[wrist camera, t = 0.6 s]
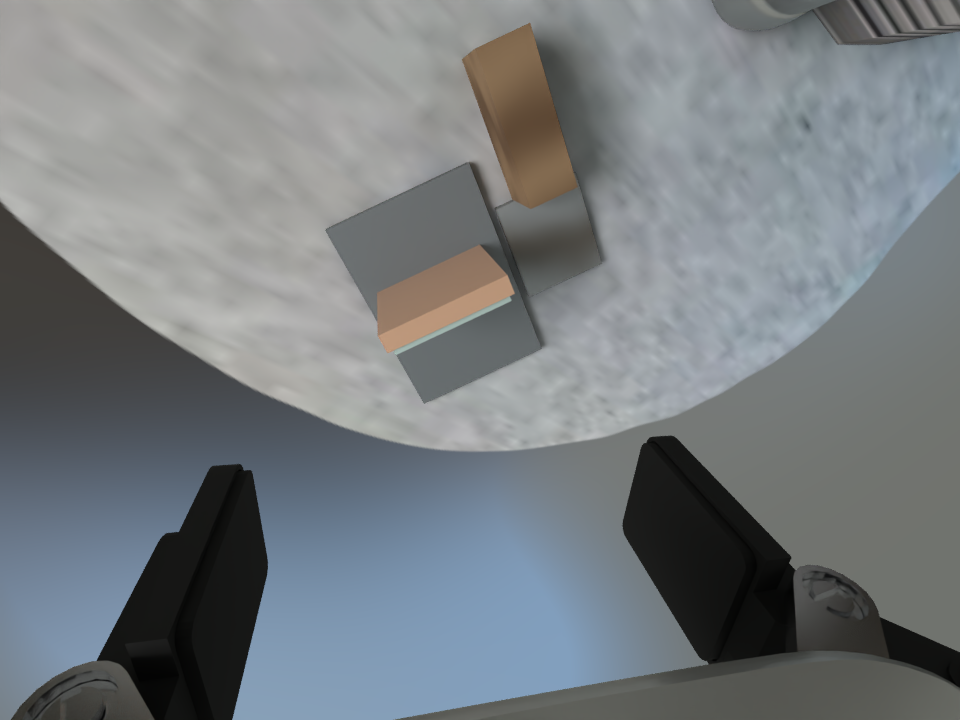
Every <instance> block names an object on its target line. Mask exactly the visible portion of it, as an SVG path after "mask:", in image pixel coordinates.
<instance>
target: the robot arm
mask: <svg viewBox="0 0 960 720" xmlns="http://www.w3.org/2000/svg"><path fill="white" fill-rule="evenodd" d="M623 531H624V535H625V536H626V538H627V540H628V542H629V543H630V545H631V546H632V548H633V550H634V551H635V553H636V555H637V556H638V558H639V560H640V561H641V563H642V564H643V566H644V568H645V570H646V571H647V573H648V574H649V576H650V578H651V579H652V581H653V583H654V584H655V586H656V587H657V589H658V591H659V592H660V594H661V596H662V597H663V599H664V601H665V602H666V604H667V606H668V607H669V609H670V610H671V612H672V614H673V615H674V617H675V619H676V620H677V622H678V623H679V625H680V627H681V628H682V630H683V632H684V633H685V635H686V637H687V638H688V640H689V641H690V643H691V645H692V646H693V648H694V650H695V651H696V653H697V654H698V656H699V657H700V658H701V659H702V660H704V661H707V662H708V663H709V665H703V666H698V667H691V668H686V669H680V670H673V671H668V672H662V673H656V674H650V675H644V676H638V677H632V678H626V679H620V680H615V681H609V682H603V683H598V684H592V685H586V686H581V687H574V688H569V689H563V690H557V691H552V692H546V693H540V694H535V695H529V696H523V697H518V698H512V699H506V700H501V701H495V702H489V703H484V704H478V705H473V706H467V707H462V708H456V709H451V710H445V711H440V712H434V713H428V714H423V715H417V716H412V717H407V718H401V719H396V720H960V652H958V651H955V650H953V649H951V648H949V647H946V646H944V645H942V644H940V643H937V642H935V641H933V640H930V639H928V638H926V637H924V636H921V635H919V634H917V633H915V632H912V631H910V630H908V629H905V628H903V627H901V626H899V625H896V624H894V623H892V622H889V621H887V620H885V619H883V618H881V617H880V616H879V613H878V609H877V607H876V605H875V603H874V601H873V600H872V598H871V597H870V596H869V595H868V593H867V592H866V591H865V590H864V589H862V588H861V587H860V586H859V585H858V584H857V583H855V582H854V581H852V580H851V579H849V578H848V577H846V576H844V575H843V574H841V573H838V572H836V571H834V570H832V569H829V568H825V567H822V566H818V565H805V566H801V567H799V568H798V569H797V570H795V569H794V568H793V567H792V566H791V565H790V564H789V562H790V559H791V556H790V555H789V554H788V553H787V552H786V551H785V550H784V549H783V548H782V547H781V546H780V545H779V544H778V543H777V542H776V541H775V540H774V539H773V537H772V536H770V534H769V533H768V532H767V531H766V530H765V529H764V528H763V527H762V526H761V525H760V524H759V523H758V522H757V521H756V520H755V519H754V518H753V517H752V516H751V515H750V514H749V513H748V512H747V511H746V510H745V509H744V508H743V506H742V505H741V504H740V503H739V502H738V501H737V500H735V498H734V497H733V496H732V495H731V494H730V493H729V492H728V491H727V490H726V489H725V488H724V487H723V486H722V485H721V484H720V483H719V482H718V481H717V480H716V479H715V478H714V477H713V476H712V475H711V473H710V472H709V471H708V470H707V469H706V468H705V467H704V466H703V465H702V464H701V463H700V462H699V461H698V460H697V459H696V458H695V457H694V456H693V455H692V454H691V453H690V452H689V451H688V450H687V449H686V448H685V447H684V446H683V444H681V442H680V441H679V440H678V439H677V438H675V437H674V436H659V437H651V438H649V439H648V440H647V443H644V444H643V445H642V447H641V450H640V455H639V458H638V463H637V467H636V471H635V475H634V479H633V483H632V487H631V491H630V495H629V499H628V503H627V507H626V511H625V515H624V519H623ZM267 570H268V560H267V553H266V548H265V542H264V537H263V530H262V525H261V519H260V513H259V507H258V502H257V496H256V490H255V485H254V479H253V474H252V471H251V470H246V471H244V470H243V467H242V465H240V464H237V465H236V464H235V465H220V466H212V467H211V468H210V469H209V471H208V473H207V475H206V477H205V479H204V481H203V483H202V486H201V487H200V489H199V492H198V493H197V496H196V498H195V500H194V502H193V504H192V506H191V508H190V510H189V512H188V514H187V516H186V519H185V520H184V523H183V525H182V527H181V529H180V531H179V532H174V533H166V534H165V535H164V536H162V538H161V539H160V541H159V542H158V544H157V546H156V548H155V550H154V552H153V553H152V556H151V557H150V559H149V561H148V563H147V565H146V567H145V569H144V571H143V573H142V575H141V577H140V578H139V580H138V582H137V584H136V586H135V588H134V590H133V592H132V594H131V596H130V598H129V600H128V601H127V603H126V605H125V607H124V609H123V611H122V613H121V615H120V617H119V619H118V621H117V623H116V624H115V627H114V628H113V630H112V632H111V634H110V636H109V638H108V640H107V642H106V644H105V646H104V647H103V649H102V651H101V653H100V655H99V657H98V659H97V661H92V662H88V663H85V664H82V665H78V666H75V667H72V668H71V669H68V670H67V671H65V672H63V673H61V674H59V675H57V676H55V677H53V678H52V679H51V680H50V681H48V682H47V683H45V684H44V685H42V686H41V687H40V688H38V689H37V690H36V691H35V692H34V693H33V694H32V695H31V696H30V697H29V698H28V699H27V700H26V701H25V702H24V703H23V704H22V705H21V706H20V707H19V709H18V710H17V712H16V713H15V714H14V716H13V717H12V719H11V720H232V718H233V714H234V710H235V706H236V702H237V698H238V693H239V689H240V685H241V681H242V677H243V673H244V669H245V664H246V660H247V656H248V652H249V647H250V643H251V639H252V635H253V631H254V627H255V623H256V619H257V614H258V610H259V606H260V602H261V598H262V593H263V589H264V585H265V581H266V577H267Z"/></svg>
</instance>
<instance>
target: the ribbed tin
mask: <svg viewBox="0 0 960 720" xmlns="http://www.w3.org/2000/svg"><path fill="white" fill-rule="evenodd" d="M812 10H813V12H814V13H815V14H816V16H817V17H818V18H819V20H820V21H821V22H822V24H823V25H824V27H825V28H826V29H827V31H828V32H829V33H830V35H831V36H832V38H833V39H834V40H835V42H836V43H837V44H846V45H881V44H887V43H893V42H899V41H905V40H911V39H917V38H923V37H929V36H935V35H941V34H947V33H953V32H959V31H960V0H835V1H833V2H830V3H827V4H825V5H822V6H820V7H817V8H814V9H812Z"/></svg>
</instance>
